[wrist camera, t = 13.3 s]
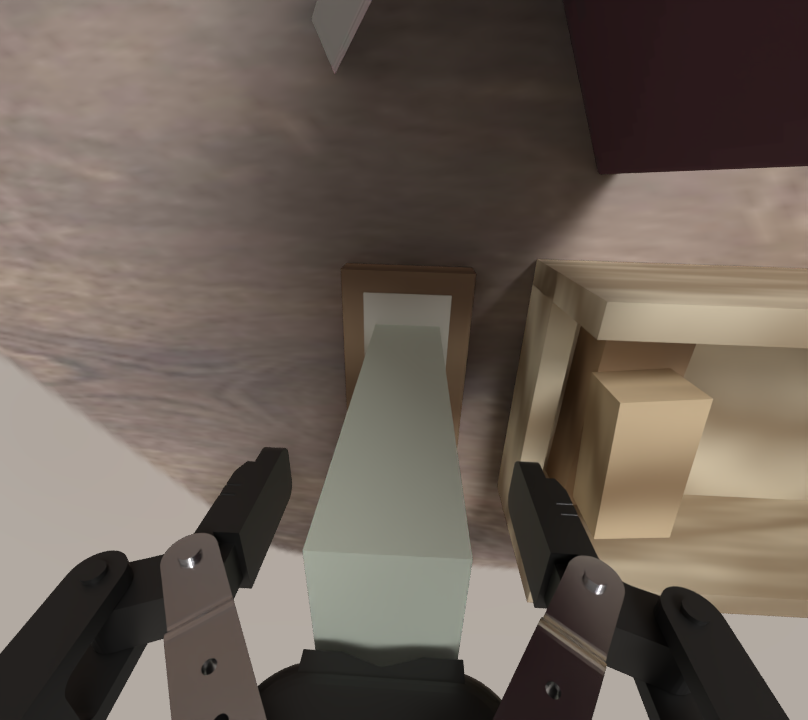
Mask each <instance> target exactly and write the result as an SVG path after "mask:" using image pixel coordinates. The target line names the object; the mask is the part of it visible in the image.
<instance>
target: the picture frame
mask: <svg viewBox="0 0 808 720" xmlns="http://www.w3.org/2000/svg"><path fill="white" fill-rule="evenodd" d="M371 1H372V0H317V2H316V5H315V8H314V12H313V15H312V18H311V19H312V22H313V24H314V27H315V29H316V31H317V34H318V36H319V38H320V41H321V43H322V46H323V48H324V50H325V53H326V55H327V57H328V60H329V62H330V65H331V67H332V69H333V72H334V74H336V72H337V70H338V68H339V66H340V64H341V62H342V60H343V58H344V56H345V54H346V51H347V49H348V47H349V45H350V43H351V41H352V39H353V37H354V35H355V33H356V31H357V29H358V27H359V25H360V23H361V21H362V19H363V17H364V15H365V13H366V11H367V9H368V7H369V5H370V3H371ZM563 3H564V8H565V13H566V17H567V22H568V27H569V32H570V37H571V42H572V47H573V52H574V57H575V61H576V66H577V71H578V76H579V81H580V86H581V91H582V96H583V101H584V105H585V110H586V115H587V120H588V125H589V130H590V135H591V140H592V145H593V149H594V154H595V159H596V164H597V169H598V173H599V174H620V173H645V172H670V171H695V170H720V169H745V168H770V167H795V166H808V0H563Z"/></svg>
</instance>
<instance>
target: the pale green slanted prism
mask: <svg viewBox="0 0 808 720" xmlns="http://www.w3.org/2000/svg"><path fill="white" fill-rule="evenodd" d="M303 559H304V566H305V574H306V581H307V588H308V596H309V604H310V611H311V619H312V626H313V634H314V641H315V649H316V650H323V651H338V652H344V653H347V654H349V655H352V656H354V657H357V658H359V659H362V660H364V661H367V662H370V663H372V664H375V665H377V666H381V667H385V666H389V665H394V664H398V663H402V662H406V661H410V660H414V659H418V658H423V657H427V658H442V659H457V660H458V653H459V647H460V640H461V633H462V626H463V620H464V614H465V607H466V600H467V594H468V587H469V580H470V574H471V567H472V561H473V558H472V551H471V544H470V537H469V530H468V523H467V516H466V509H465V502H464V495H463V488H462V481H461V474H460V467H459V460H458V453H457V446H456V439H455V432H454V425H453V418H452V411H451V404H450V397H449V390H448V383H447V376H446V369H445V362H444V355H443V348H442V341H441V334H440V328H439V327H436V326H408V325H380V324H375V327H374V330H373V333H372V337H371V340H370V343H369V346H368V349H367V352H366V355H365V358H364V361H363V365H362V368H361V371H360V374H359V377H358V380H357V383H356V386H355V389H354V392H353V396H352V399H351V402H350V405H349V408H348V411H347V414H346V417H345V420H344V423H343V427H342V430H341V433H340V436H339V439H338V442H337V445H336V448H335V451H334V455H333V458H332V461H331V464H330V467H329V470H328V473H327V476H326V479H325V482H324V486H323V489H322V492H321V495H320V498H319V501H318V504H317V507H316V510H315V513H314V517H313V520H312V523H311V526H310V529H309V532H308V535H307V538H306V541H305V545H304V548H303Z"/></svg>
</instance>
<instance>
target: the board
mask: <svg viewBox="0 0 808 720" xmlns="http://www.w3.org/2000/svg"><path fill="white" fill-rule="evenodd" d="M475 281H476V273H475V272H474V270H473V268H470V267H442V266H414V265H386V264H358V263H346V264H345V265H344V266H343V267H342V269H341V287H342V310H343V333H344V356H345V379H346V402H347V411H348V408H349V405H350V402H351V399H352V396H353V392H354V389H355V386H356V383H357V380H358V377H359V374H360V371H361V368H362V365H363V361H364V358H365V355H366V352H367V349H368V346H369V343H370V340H371V337H372V333H373V330H374V327H375V324H380V325H408V326H436V327H439V328H440V334H441V341H442V348H443V355H444V362H445V369H446V376H447V383H448V390H449V397H450V404H451V411H452V418H453V425H454V432H455V439H456V446H457V445H458V436H459V427H460V417H461V408H462V399H463V390H464V381H465V372H466V363H467V354H468V345H469V336H470V327H471V317H472V308H473V299H474V290H475Z"/></svg>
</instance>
